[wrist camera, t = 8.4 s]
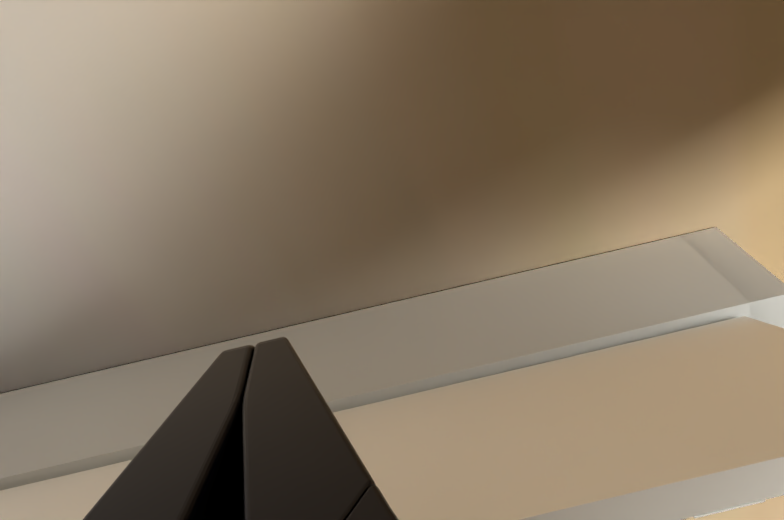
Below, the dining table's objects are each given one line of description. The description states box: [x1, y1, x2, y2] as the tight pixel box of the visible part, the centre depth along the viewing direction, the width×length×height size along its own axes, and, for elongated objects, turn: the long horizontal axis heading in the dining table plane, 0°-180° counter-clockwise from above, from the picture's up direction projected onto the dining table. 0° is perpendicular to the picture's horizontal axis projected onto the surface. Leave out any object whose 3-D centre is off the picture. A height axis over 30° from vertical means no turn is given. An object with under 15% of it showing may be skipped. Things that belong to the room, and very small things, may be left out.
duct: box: [0, 227, 784, 518], centre depth 18 cm, size 21×7×3 cm, turn 101°
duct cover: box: [0, 316, 784, 520], centre depth 12 cm, size 19×6×1 cm
